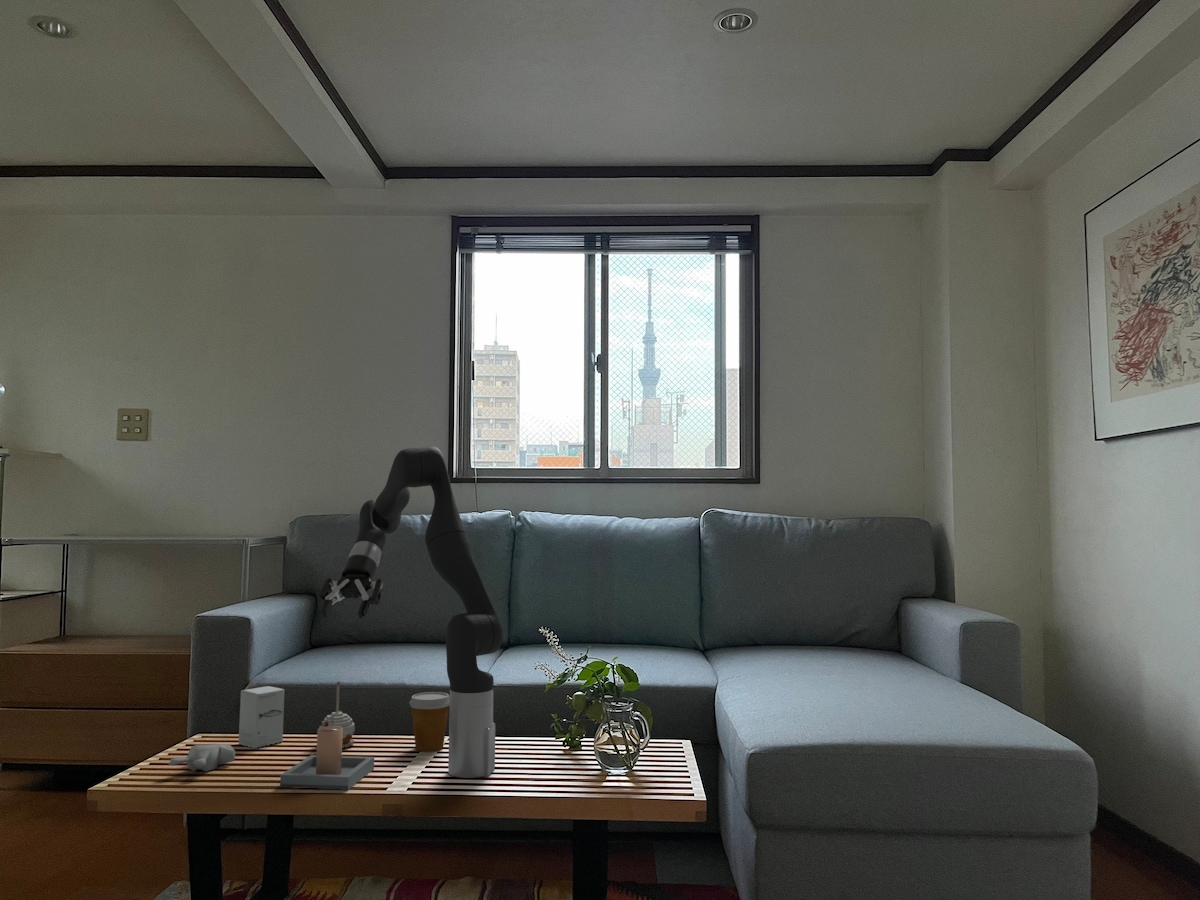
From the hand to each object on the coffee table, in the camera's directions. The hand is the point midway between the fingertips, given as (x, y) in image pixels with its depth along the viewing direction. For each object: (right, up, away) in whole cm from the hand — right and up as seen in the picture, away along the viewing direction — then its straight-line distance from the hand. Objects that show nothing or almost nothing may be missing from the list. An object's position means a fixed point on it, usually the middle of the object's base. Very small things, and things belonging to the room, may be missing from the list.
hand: (342, 616), depth 195 cm
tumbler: (+4, -28, -22) cm, 36 cm away
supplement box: (-21, -31, +4) cm, 38 cm away
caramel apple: (-2, -31, +1) cm, 31 cm away
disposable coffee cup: (+20, -31, 0) cm, 37 cm away
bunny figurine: (-24, -30, -16) cm, 42 cm away
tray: (+4, -29, -23) cm, 37 cm away
